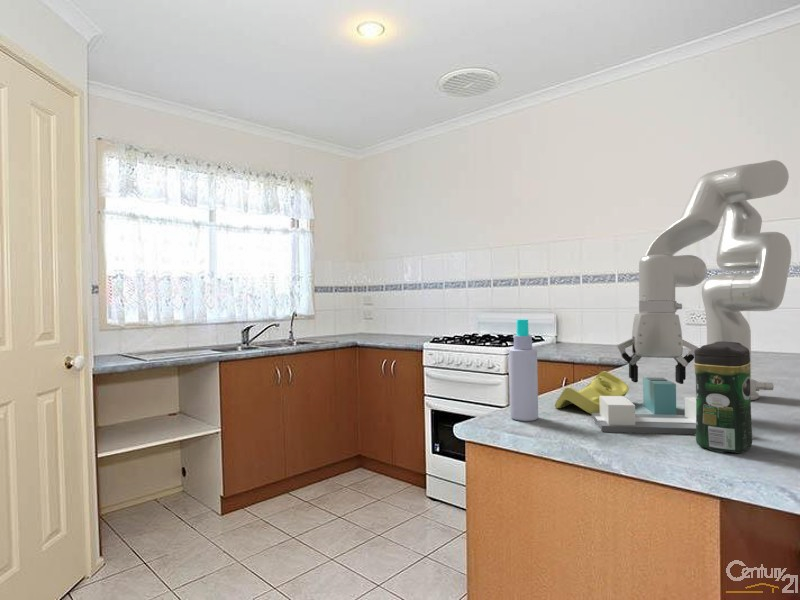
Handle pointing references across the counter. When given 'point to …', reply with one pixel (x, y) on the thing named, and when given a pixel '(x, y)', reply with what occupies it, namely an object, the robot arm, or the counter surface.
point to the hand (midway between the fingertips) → (656, 382)
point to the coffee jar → (723, 397)
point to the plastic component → (593, 392)
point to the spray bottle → (523, 375)
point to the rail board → (643, 418)
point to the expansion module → (659, 395)
